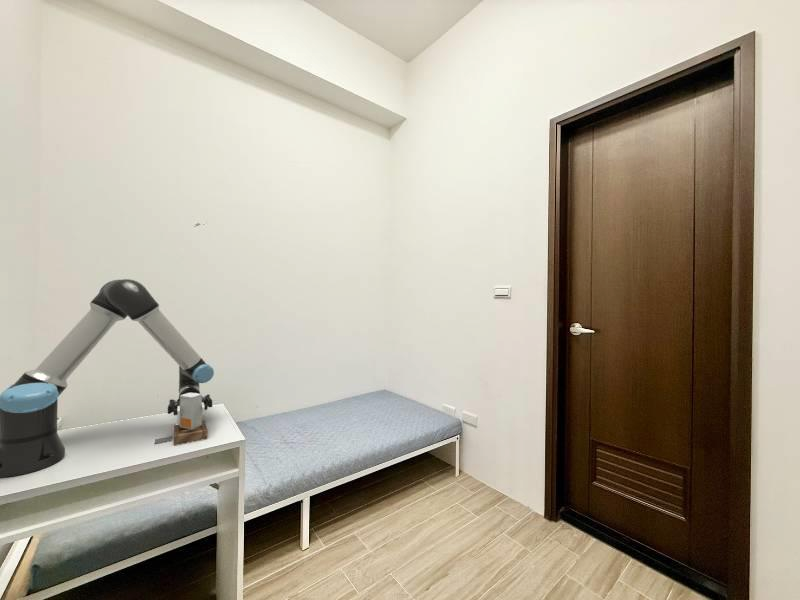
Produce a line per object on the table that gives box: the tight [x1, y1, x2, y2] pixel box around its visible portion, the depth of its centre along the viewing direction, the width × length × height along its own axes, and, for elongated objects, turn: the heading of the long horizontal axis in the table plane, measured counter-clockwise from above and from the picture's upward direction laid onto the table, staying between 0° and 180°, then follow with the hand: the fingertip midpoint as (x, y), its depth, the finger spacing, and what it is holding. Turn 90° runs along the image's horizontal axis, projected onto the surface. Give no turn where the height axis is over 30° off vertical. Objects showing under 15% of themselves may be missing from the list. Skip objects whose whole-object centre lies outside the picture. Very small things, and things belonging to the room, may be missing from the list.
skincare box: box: [179, 393, 203, 429], centre depth 119 cm, size 6×4×12 cm
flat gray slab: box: [153, 435, 173, 445], centre depth 115 cm, size 5×4×1 cm
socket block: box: [172, 419, 208, 446], centre depth 119 cm, size 10×12×3 cm
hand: (191, 413), depth 115 cm, fingers closed on skincare box, 7 cm apart
